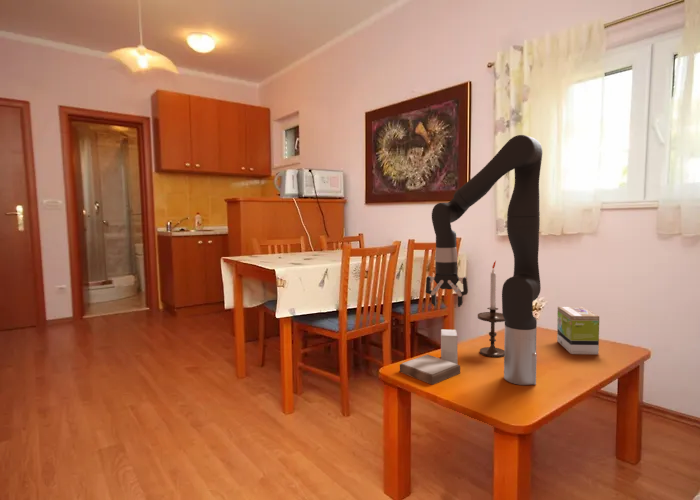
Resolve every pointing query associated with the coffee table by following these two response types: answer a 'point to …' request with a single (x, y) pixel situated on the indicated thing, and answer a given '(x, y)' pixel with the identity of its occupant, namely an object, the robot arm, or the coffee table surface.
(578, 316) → the tea box
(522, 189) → the robot arm
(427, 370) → the tray
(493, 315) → the candlestick
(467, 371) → the coffee table surface
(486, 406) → the coffee table surface
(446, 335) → the small box
